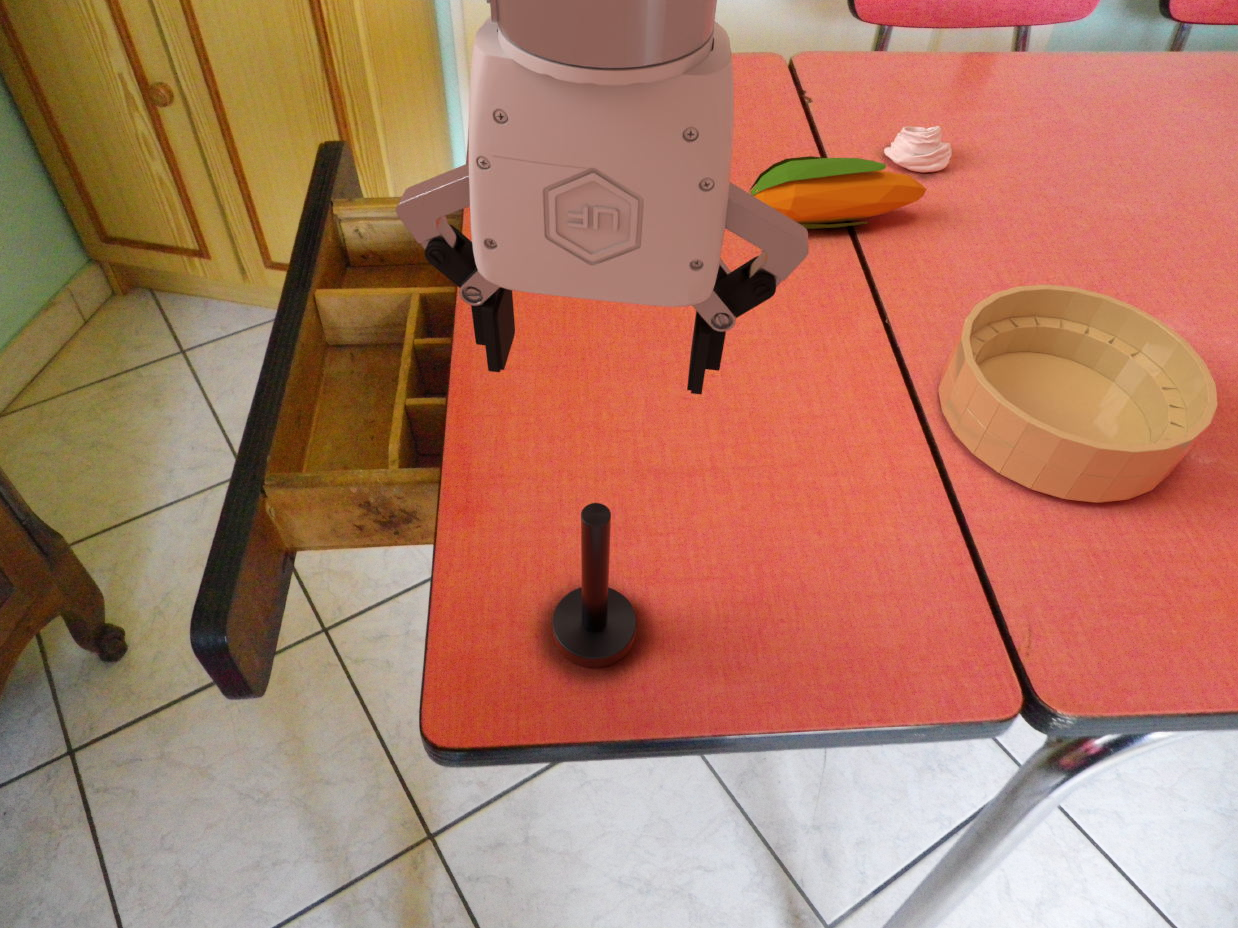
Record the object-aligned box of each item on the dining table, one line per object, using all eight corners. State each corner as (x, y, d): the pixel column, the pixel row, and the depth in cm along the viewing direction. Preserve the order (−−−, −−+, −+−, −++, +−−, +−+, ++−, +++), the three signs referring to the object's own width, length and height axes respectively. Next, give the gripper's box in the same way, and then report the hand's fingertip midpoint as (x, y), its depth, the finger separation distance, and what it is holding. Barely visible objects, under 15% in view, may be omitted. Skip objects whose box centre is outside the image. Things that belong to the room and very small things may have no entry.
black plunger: (652, 623, 62) (665, 507, 51) (602, 684, 59) (605, 573, 48) (587, 581, 64) (587, 460, 54) (535, 637, 61) (525, 521, 50)
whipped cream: (889, 181, 104) (899, 146, 100) (873, 148, 107) (882, 113, 103) (953, 175, 104) (965, 140, 100) (935, 142, 108) (946, 107, 104)
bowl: (1196, 404, 79) (1240, 347, 73) (1136, 547, 68) (1183, 493, 63) (985, 314, 86) (1011, 257, 81) (900, 431, 75) (924, 373, 70)
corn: (748, 143, 92) (924, 135, 94) (737, 202, 98) (903, 194, 100) (763, 185, 87) (948, 176, 89) (751, 244, 94) (924, 234, 96)
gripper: (319, 17, 27) (405, 398, 40) (871, 66, 26) (774, 439, 39) (388, -68, 32) (445, 297, 45) (857, -29, 31) (774, 332, 44)
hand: (598, 363), depth 42 cm, fingers open, 9 cm apart
